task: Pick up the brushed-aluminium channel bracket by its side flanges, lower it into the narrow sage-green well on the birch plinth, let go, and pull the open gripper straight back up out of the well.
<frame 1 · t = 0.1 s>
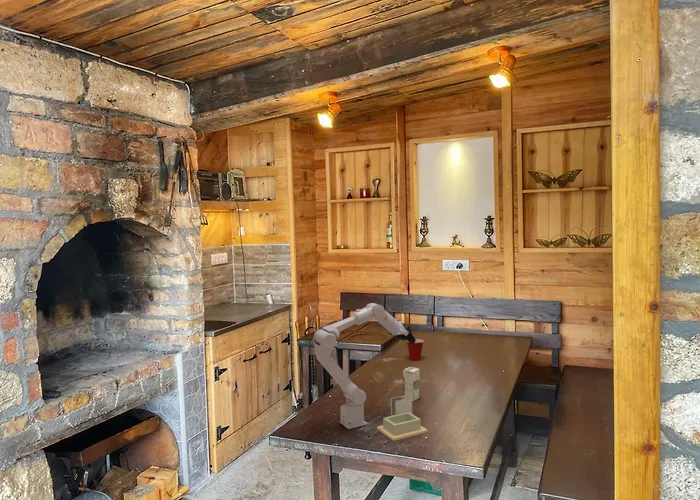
hand: (409, 340, 229), 32 cm above the table, tool tilted 50°, fingers open, 7 cm apart
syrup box: (411, 399, 246), on the table
bracket: (401, 416, 226), on the table
well: (402, 430, 211), on the table
plastic cup: (415, 359, 311), on the table
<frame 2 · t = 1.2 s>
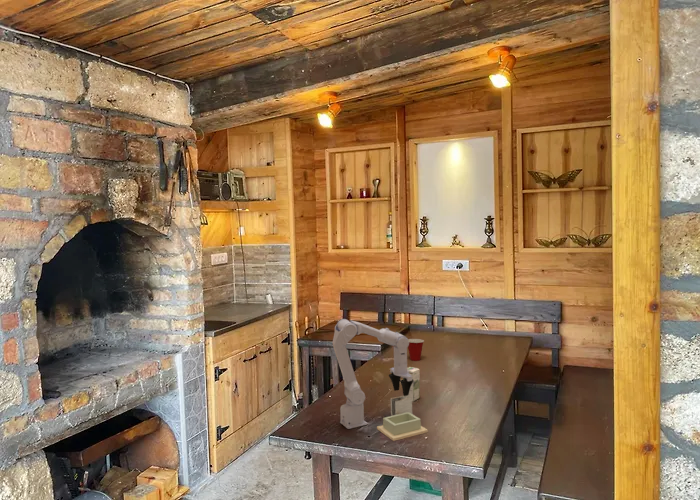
hand: (401, 392, 225), 10 cm above the table, tool pointing down, fingers open, 7 cm apart
nothing on the table moved.
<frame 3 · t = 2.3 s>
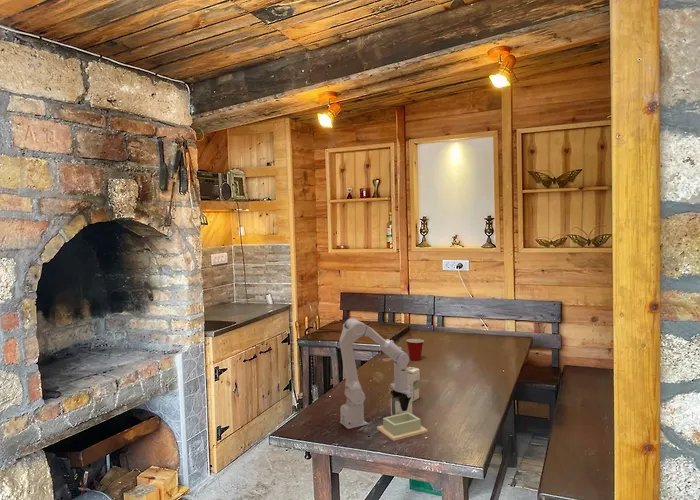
hand: (401, 408, 226), 3 cm above the table, tool pointing down, fingers closed on bracket, 4 cm apart
bracket: (401, 415, 226), on the table, touching gripper
everything else where it was.
when the fingers open (6 cm above the table, at t = 6.3 s): bracket stays where it is, resting on well.
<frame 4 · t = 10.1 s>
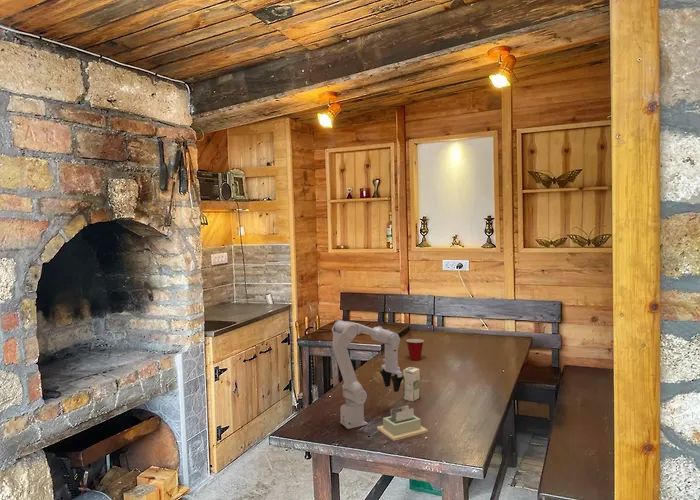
hand: (392, 388, 230), 10 cm above the table, tool pointing down, fingers open, 7 cm apart
bracket: (402, 428, 211), point 1 cm above the table, touching well
everything else where it was.
at the end: bracket 0.2 cm off-centre on the well, point 1.0 cm above the well's base; bracket tilted 0°; the gripper is holding nothing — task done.
